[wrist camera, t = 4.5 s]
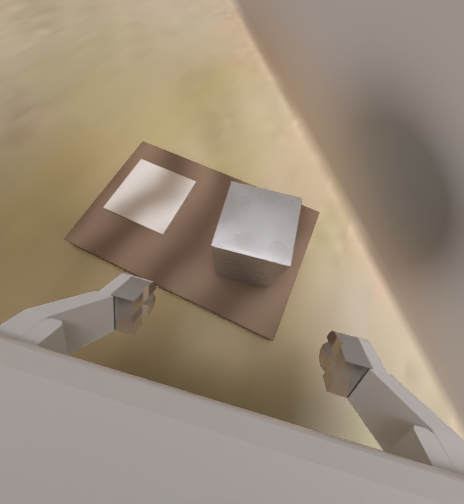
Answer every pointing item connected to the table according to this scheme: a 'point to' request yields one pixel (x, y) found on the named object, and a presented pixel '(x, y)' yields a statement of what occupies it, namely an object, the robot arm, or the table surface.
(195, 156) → the table surface
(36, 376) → the robot arm
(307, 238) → the walnut board
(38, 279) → the table surface
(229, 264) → the tall grey pillar
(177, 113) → the table surface
